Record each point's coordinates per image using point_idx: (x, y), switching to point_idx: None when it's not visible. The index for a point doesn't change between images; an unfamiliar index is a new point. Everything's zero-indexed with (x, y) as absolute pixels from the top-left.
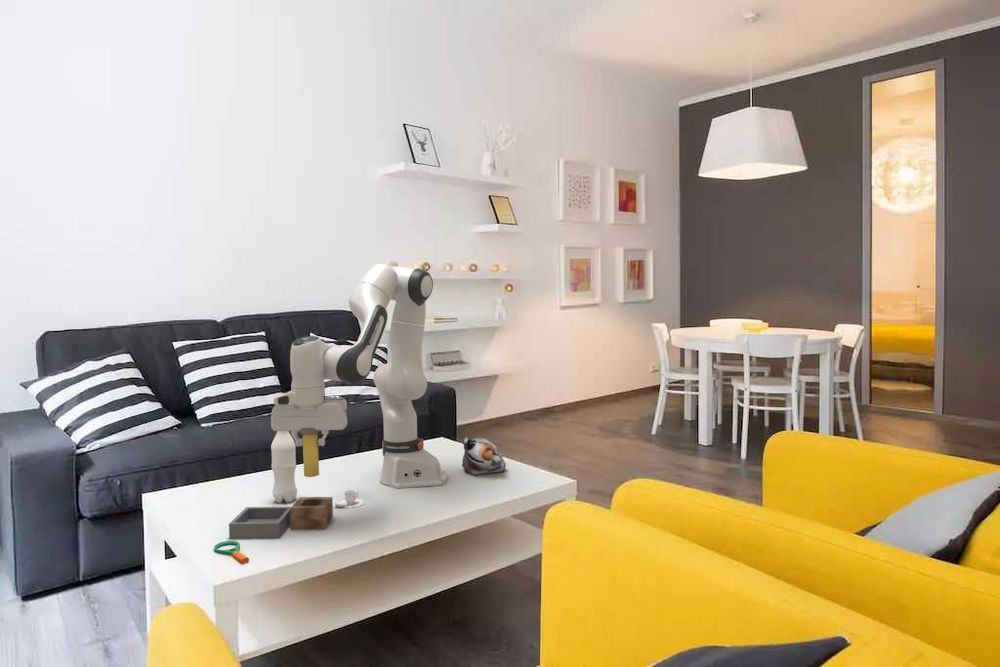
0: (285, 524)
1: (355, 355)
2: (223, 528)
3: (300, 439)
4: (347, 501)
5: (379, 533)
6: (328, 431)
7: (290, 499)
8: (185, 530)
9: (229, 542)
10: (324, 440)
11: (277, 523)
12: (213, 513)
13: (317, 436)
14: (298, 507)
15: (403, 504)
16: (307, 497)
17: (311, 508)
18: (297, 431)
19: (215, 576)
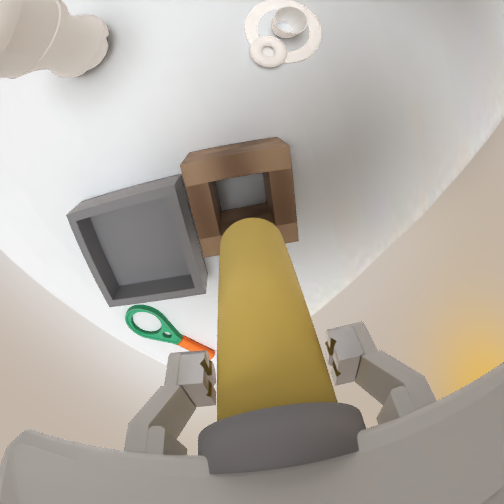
0: (194, 239)
1: None
2: (71, 246)
3: (197, 393)
4: (282, 37)
5: (397, 221)
6: (426, 381)
7: (104, 56)
8: (31, 265)
9: (137, 311)
10: (371, 347)
11: (203, 293)
12: (6, 181)
13: (333, 392)
14: None
15: (414, 49)
16: (206, 162)
17: None
18: (172, 447)
19: None
